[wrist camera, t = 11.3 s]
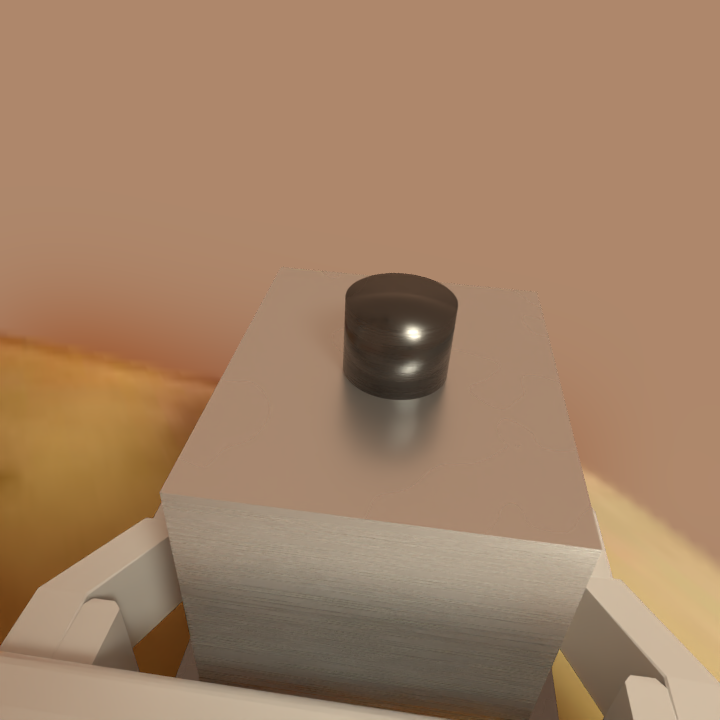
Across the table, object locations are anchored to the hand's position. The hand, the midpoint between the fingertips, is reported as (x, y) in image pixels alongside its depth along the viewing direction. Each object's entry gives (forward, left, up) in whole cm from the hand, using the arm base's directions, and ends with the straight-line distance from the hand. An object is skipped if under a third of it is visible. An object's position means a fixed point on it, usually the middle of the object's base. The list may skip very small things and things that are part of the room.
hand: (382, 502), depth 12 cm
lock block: (0, -1, -6) cm, 6 cm away
